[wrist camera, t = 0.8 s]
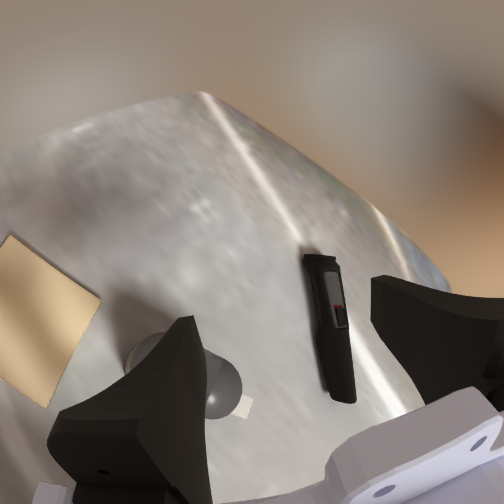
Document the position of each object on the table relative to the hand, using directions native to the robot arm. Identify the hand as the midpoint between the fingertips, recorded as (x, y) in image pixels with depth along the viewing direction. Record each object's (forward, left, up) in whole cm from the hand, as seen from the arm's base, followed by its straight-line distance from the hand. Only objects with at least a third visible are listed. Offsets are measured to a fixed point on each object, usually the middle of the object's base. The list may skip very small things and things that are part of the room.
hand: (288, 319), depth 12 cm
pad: (-4, +12, -13) cm, 18 cm away
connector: (-2, 0, -13) cm, 14 cm away
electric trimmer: (+9, -12, -14) cm, 20 cm away
